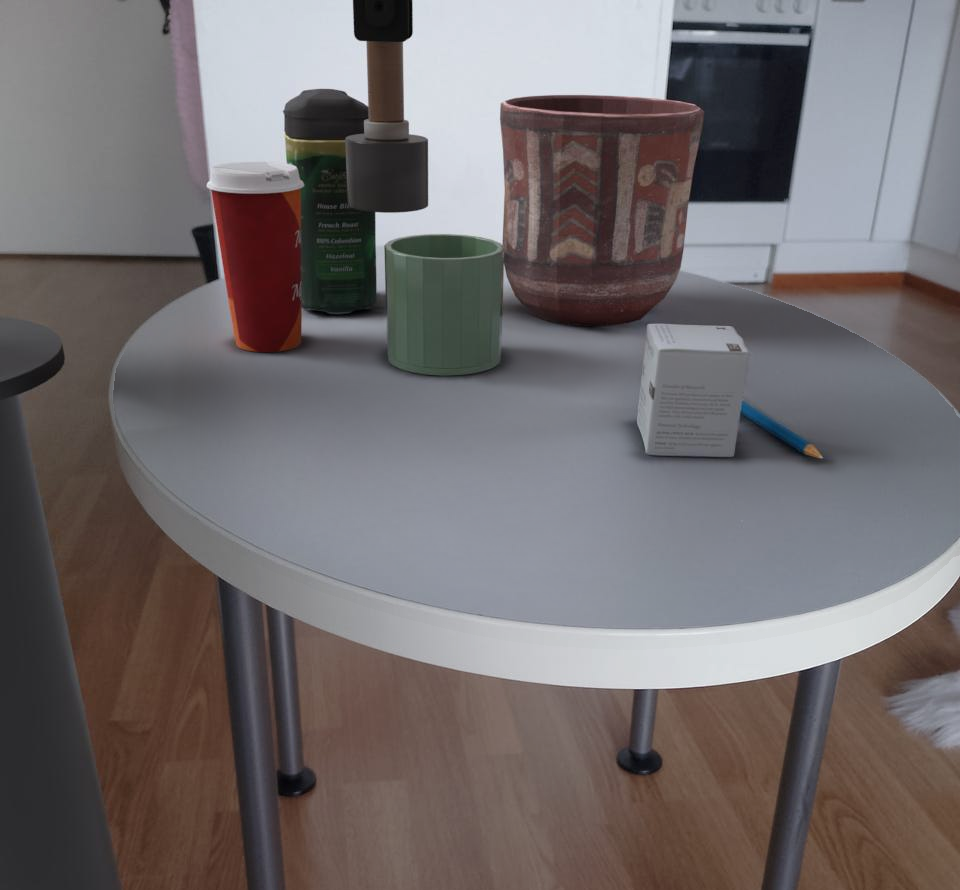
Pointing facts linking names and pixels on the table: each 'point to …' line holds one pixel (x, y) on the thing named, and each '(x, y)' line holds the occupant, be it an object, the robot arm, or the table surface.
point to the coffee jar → (330, 203)
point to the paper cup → (260, 251)
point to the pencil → (779, 430)
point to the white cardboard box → (691, 390)
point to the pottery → (595, 203)
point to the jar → (444, 303)
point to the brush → (386, 142)
